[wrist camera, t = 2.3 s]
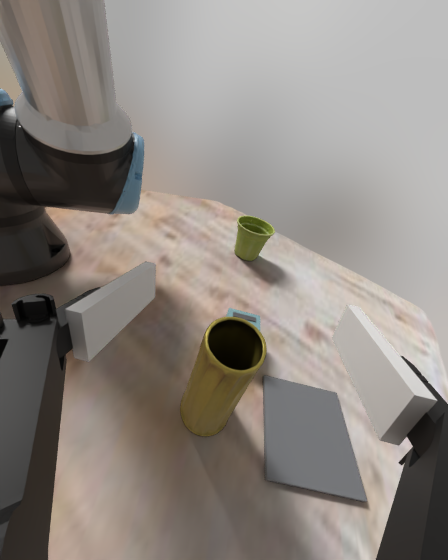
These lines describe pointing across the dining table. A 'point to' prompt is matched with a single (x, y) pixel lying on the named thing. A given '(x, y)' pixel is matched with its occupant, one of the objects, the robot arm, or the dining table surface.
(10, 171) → the robot arm
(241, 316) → the letter cube
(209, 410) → the vase
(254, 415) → the dining table surface
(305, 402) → the slate mat
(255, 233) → the plant pot
